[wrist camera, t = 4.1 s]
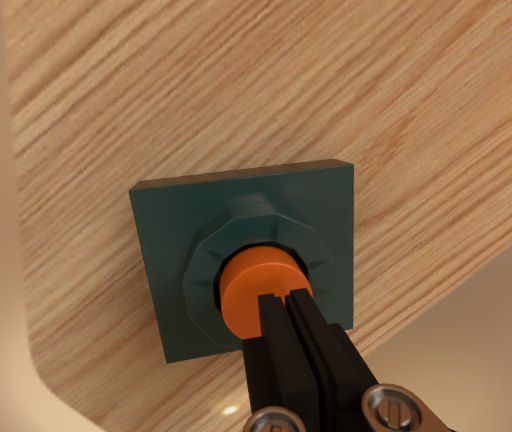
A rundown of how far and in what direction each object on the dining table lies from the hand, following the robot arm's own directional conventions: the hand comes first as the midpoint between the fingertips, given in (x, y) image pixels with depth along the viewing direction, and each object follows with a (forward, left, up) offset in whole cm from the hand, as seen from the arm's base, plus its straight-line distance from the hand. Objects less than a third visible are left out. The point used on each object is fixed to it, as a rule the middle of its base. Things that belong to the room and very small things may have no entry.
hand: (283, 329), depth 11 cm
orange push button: (0, 0, -3) cm, 3 cm away
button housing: (0, 0, -7) cm, 7 cm away
